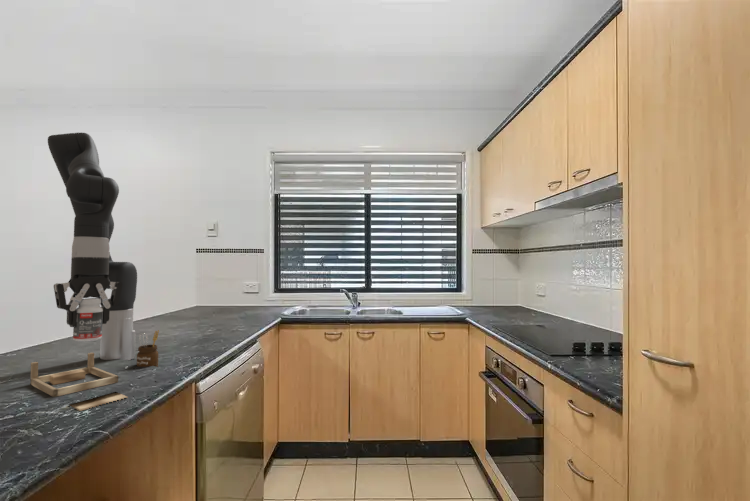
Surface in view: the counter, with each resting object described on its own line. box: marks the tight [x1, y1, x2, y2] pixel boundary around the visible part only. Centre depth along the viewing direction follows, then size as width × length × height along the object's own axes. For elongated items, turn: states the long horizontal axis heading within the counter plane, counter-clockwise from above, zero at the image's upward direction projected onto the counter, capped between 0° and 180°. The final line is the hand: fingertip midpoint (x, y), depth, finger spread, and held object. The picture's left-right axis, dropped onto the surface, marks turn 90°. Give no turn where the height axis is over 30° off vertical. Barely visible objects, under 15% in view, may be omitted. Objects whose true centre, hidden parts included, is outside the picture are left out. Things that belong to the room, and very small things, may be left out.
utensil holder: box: [136, 330, 160, 368], centre depth 123 cm, size 6×6×12 cm
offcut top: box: [49, 368, 86, 386], centre depth 107 cm, size 7×3×2 cm, turn 142°
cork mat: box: [68, 391, 129, 412], centre depth 96 cm, size 10×10×1 cm
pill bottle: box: [72, 297, 103, 342], centre depth 96 cm, size 6×6×10 cm
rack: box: [29, 352, 119, 398], centre depth 104 cm, size 14×16×7 cm
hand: (88, 324), depth 96 cm, fingers closed on pill bottle, 5 cm apart
